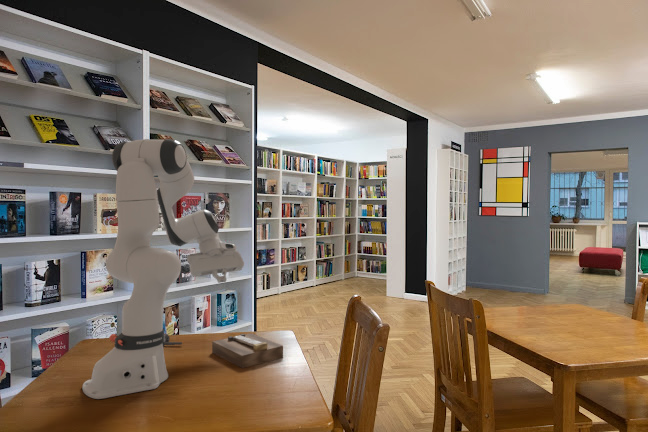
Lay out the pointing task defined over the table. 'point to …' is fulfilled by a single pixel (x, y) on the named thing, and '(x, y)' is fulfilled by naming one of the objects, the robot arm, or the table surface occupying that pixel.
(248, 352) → the base
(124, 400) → the table surface
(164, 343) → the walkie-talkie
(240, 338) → the strap
